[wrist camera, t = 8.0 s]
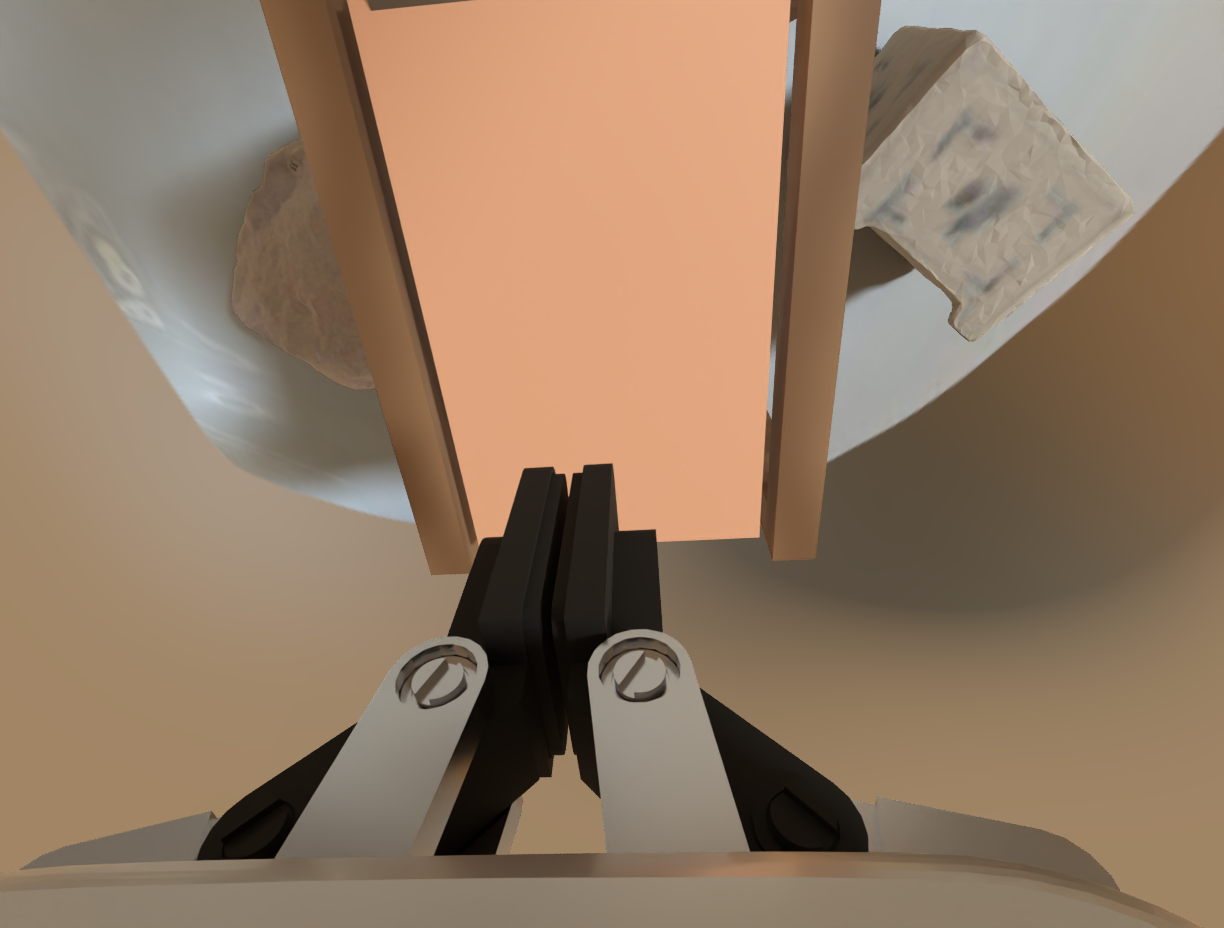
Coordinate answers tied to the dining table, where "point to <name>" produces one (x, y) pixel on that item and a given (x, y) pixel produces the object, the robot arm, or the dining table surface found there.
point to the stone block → (296, 274)
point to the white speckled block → (976, 175)
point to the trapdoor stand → (389, 303)
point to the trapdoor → (592, 239)
